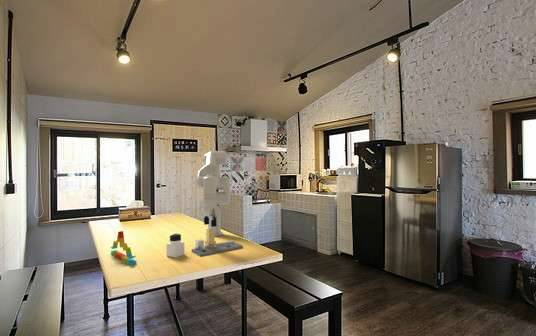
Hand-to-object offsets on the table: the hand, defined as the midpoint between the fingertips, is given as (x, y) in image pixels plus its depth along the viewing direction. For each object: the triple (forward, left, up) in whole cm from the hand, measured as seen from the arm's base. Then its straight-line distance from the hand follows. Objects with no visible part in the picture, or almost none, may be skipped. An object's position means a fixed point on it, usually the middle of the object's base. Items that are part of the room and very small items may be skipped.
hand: (210, 225), depth 182 cm
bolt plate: (+3, +3, -15) cm, 15 cm away
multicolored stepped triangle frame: (-14, -46, -15) cm, 50 cm away
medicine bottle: (-2, -21, -15) cm, 26 cm away
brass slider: (+2, 0, -13) cm, 13 cm away
